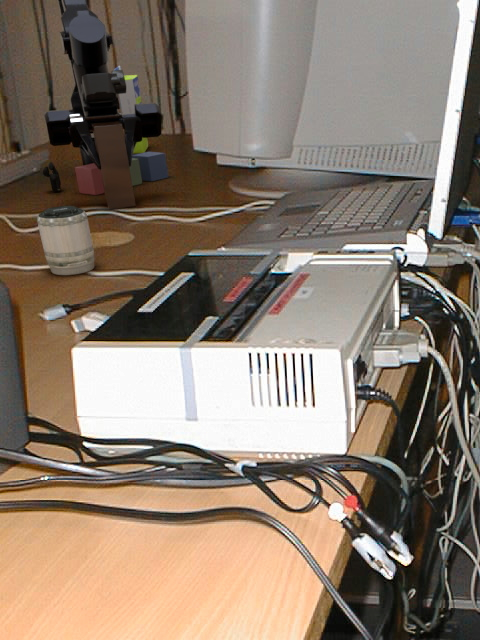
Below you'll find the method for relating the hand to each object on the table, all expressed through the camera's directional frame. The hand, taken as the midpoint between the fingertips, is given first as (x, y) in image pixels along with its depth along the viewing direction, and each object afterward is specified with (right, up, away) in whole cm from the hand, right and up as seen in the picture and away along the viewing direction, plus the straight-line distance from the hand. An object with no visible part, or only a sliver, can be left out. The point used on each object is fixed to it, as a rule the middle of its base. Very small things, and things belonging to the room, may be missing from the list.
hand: (114, 166), depth 151 cm
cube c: (-8, +1, +16) cm, 18 cm away
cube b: (-4, +4, +21) cm, 21 cm away
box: (-11, +25, +56) cm, 63 cm away
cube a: (0, +7, +25) cm, 26 cm away
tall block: (0, -5, +5) cm, 7 cm away
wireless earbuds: (-16, +2, +18) cm, 24 cm away
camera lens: (+3, -26, -30) cm, 40 cm away
